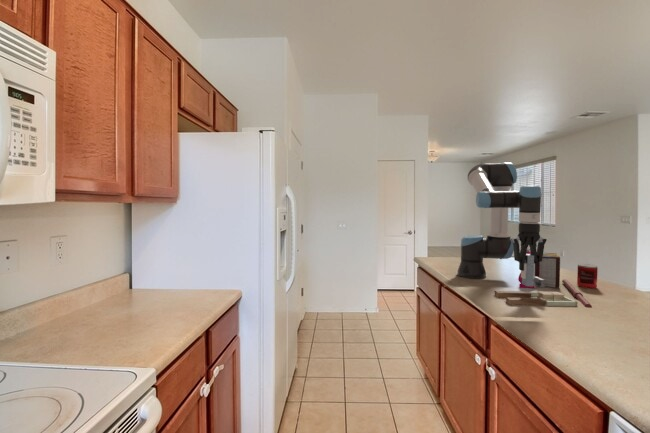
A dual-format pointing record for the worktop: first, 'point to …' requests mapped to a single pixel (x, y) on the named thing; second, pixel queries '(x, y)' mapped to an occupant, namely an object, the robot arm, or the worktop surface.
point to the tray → (558, 303)
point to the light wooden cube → (557, 296)
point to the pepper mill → (521, 277)
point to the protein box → (549, 270)
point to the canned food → (587, 276)
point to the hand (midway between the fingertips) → (527, 277)
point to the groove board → (519, 298)
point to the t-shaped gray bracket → (531, 273)
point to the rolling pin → (576, 293)
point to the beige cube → (545, 296)
